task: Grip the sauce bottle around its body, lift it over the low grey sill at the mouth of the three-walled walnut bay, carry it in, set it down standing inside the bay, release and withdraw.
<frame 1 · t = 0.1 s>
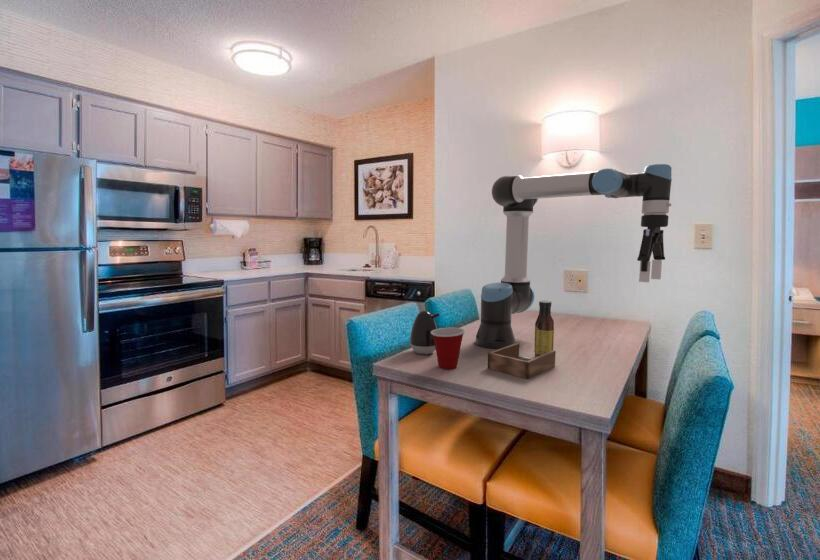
hand: (650, 280, 136), 28 cm above the table, fingers open, 13 cm apart
bay: (521, 367, 135), on the table
pump dispenser: (424, 353, 150), on the table
plastic cup: (446, 367, 134), on the table
sauce bottle: (543, 358, 145), on the table
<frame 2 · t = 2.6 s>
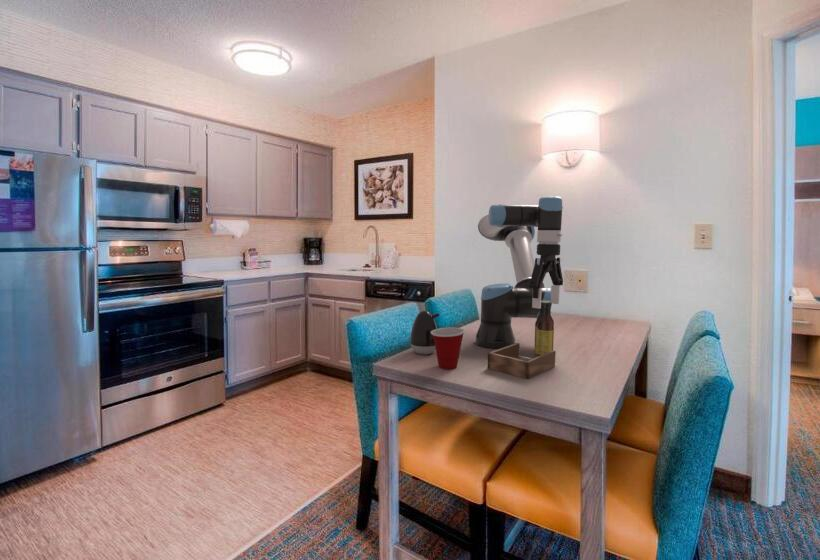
hand: (545, 305, 143), 18 cm above the table, fingers open, 13 cm apart
nothing on the table moved.
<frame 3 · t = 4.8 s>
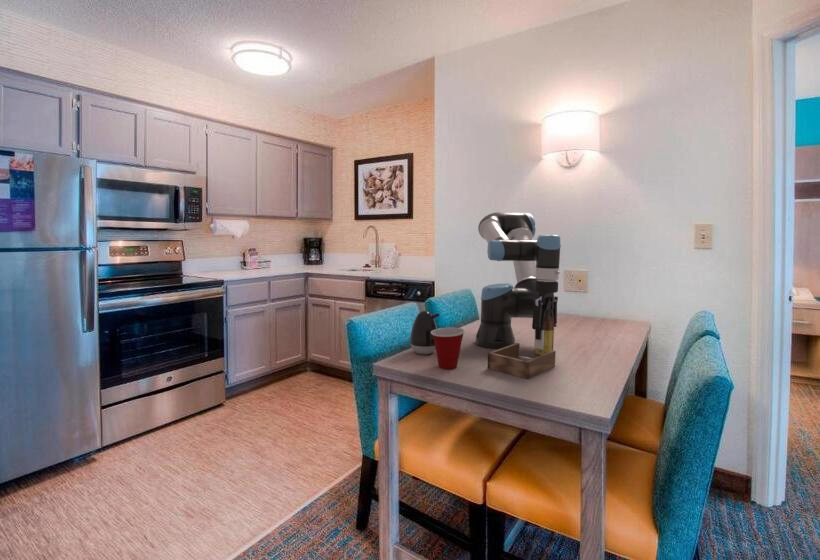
hand: (543, 346, 145), 4 cm above the table, fingers closed on sauce bottle, 6 cm apart
sauce bottle: (543, 358, 145), on the table, touching gripper
everything else where it was.
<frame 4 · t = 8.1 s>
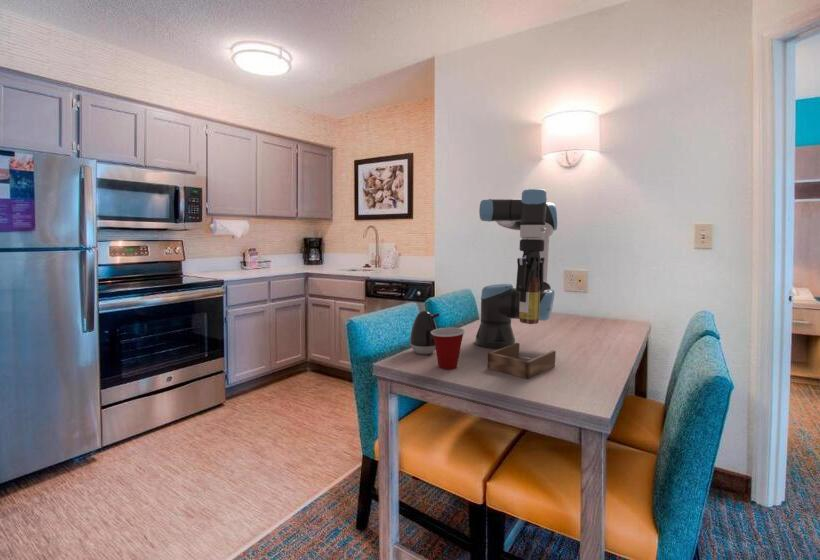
hand: (529, 310, 135), 18 cm above the table, fingers closed on sauce bottle, 6 cm apart
sauce bottle: (528, 323, 135), point 14 cm above the table, touching gripper
everything else where it was.
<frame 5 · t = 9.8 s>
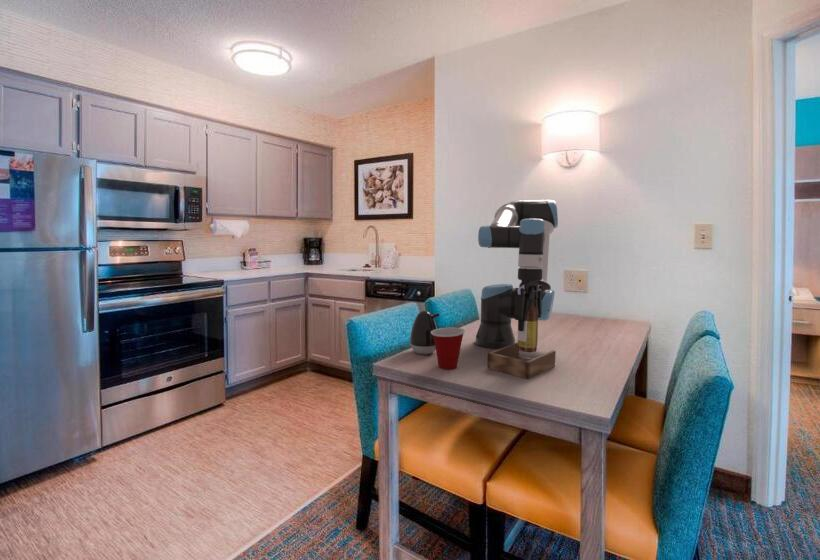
hand: (527, 338, 136), 9 cm above the table, fingers closed on sauce bottle, 6 cm apart
sauce bottle: (526, 351, 136), point 5 cm above the table, touching gripper
everything else where it was.
when the fingers open (5 cm above the table, at t = 11.2 s): sauce bottle drops 1 cm, resting in bay.
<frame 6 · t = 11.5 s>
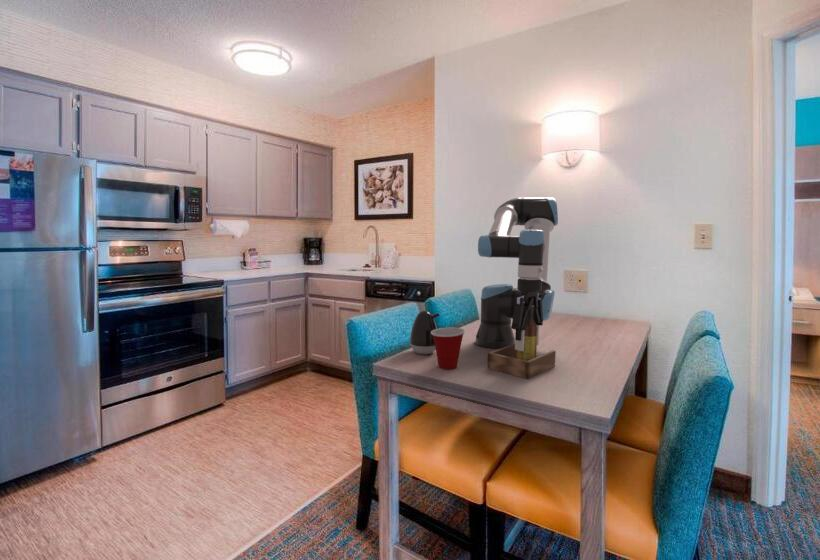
hand: (526, 347, 136), 6 cm above the table, fingers open, 9 cm apart
sauce bottle: (525, 365, 137), resting in bay
everything else where it was.
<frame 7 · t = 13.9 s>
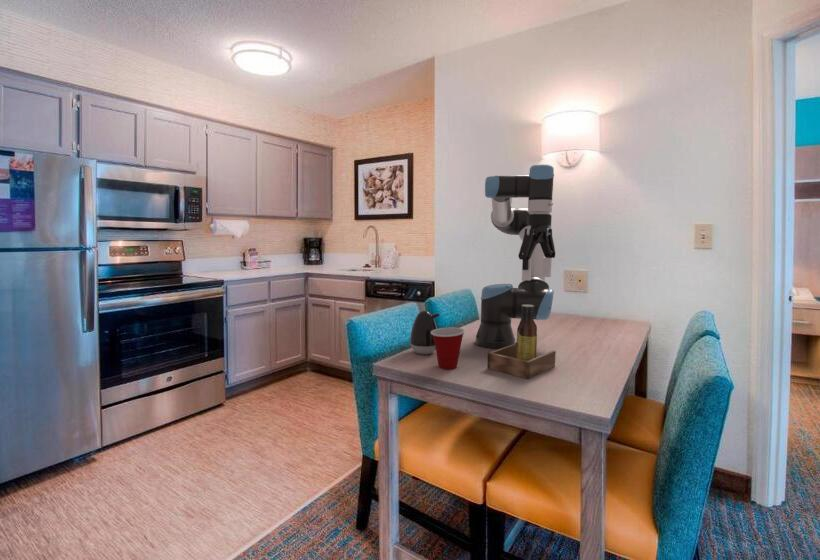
hand: (536, 278, 139), 28 cm above the table, fingers open, 13 cm apart
nothing on the table moved.
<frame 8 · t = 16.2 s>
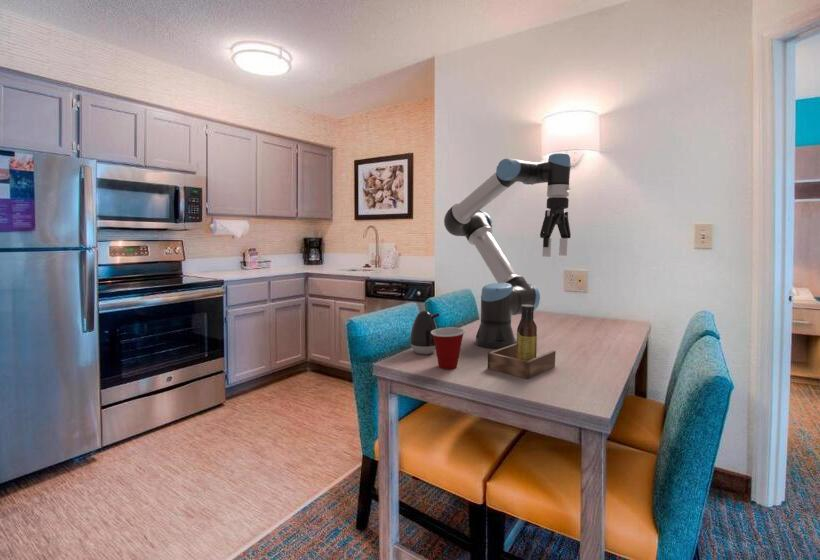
hand: (554, 256, 155), 35 cm above the table, fingers open, 13 cm apart
nothing on the table moved.
at the end: sauce bottle inside the target area (2.3 cm from its centre), resting in bay; sauce bottle tilted 0°; sauce bottle moved 12.2 cm from its start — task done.
